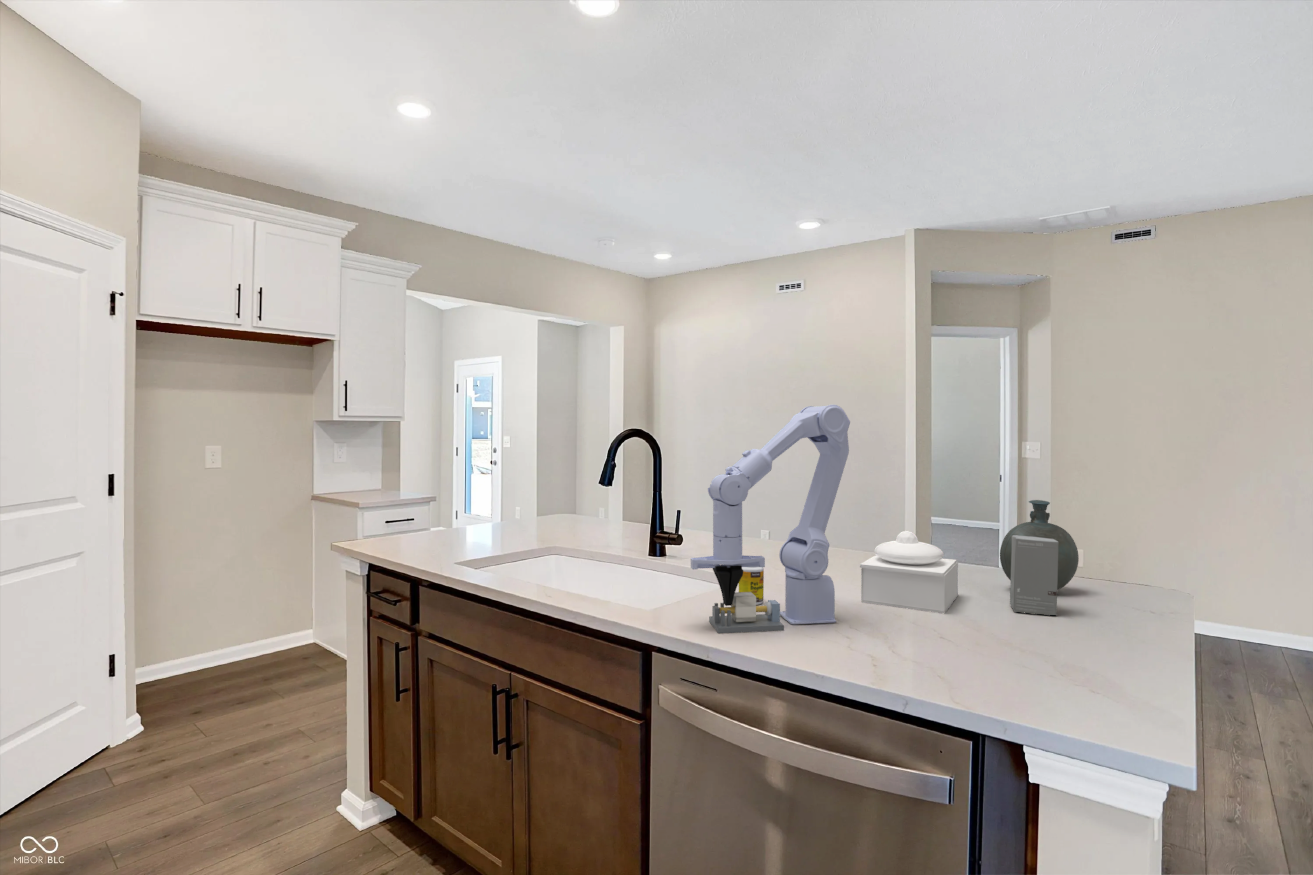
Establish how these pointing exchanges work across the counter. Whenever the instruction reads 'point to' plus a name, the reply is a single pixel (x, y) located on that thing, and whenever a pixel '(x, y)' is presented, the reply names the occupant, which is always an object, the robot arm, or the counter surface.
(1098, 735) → the counter surface
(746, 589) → the supplement bottle
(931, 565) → the white lidded box
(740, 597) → the sleeve
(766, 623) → the linear actuator
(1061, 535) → the flask
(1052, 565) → the skincare box
